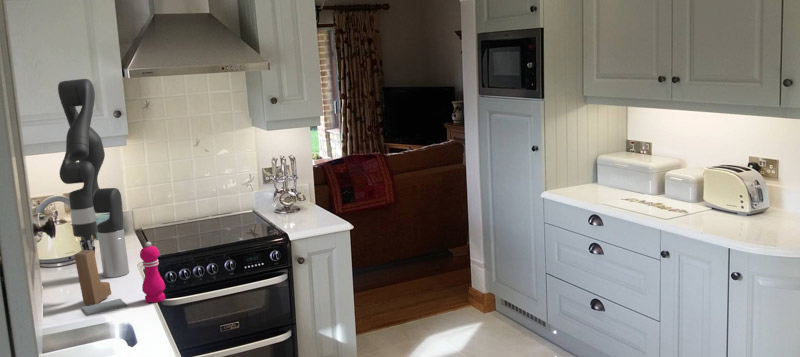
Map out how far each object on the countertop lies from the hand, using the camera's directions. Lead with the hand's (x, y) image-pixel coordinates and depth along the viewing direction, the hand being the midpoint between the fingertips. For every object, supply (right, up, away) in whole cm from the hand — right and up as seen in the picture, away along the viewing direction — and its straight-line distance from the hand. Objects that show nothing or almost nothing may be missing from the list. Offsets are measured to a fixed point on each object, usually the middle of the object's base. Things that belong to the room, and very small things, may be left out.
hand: (90, 270), depth 243 cm
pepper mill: (+24, -9, -5) cm, 26 cm away
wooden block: (+4, -10, -2) cm, 10 cm away
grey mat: (+9, -11, -10) cm, 17 cm away
